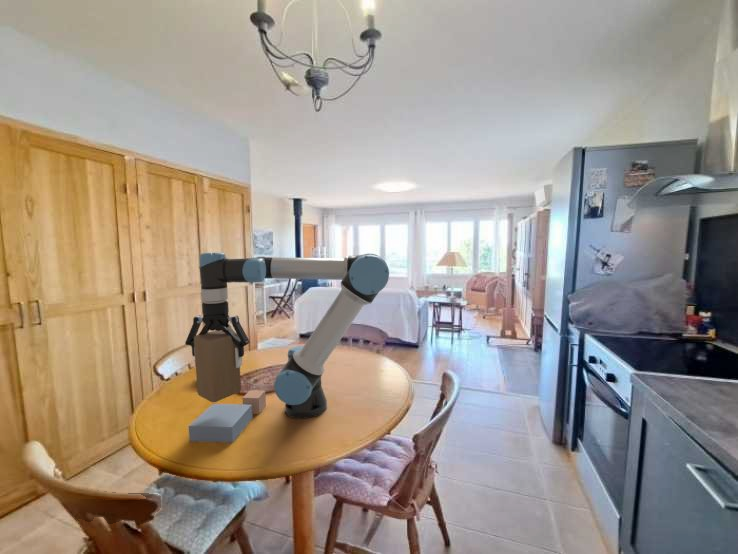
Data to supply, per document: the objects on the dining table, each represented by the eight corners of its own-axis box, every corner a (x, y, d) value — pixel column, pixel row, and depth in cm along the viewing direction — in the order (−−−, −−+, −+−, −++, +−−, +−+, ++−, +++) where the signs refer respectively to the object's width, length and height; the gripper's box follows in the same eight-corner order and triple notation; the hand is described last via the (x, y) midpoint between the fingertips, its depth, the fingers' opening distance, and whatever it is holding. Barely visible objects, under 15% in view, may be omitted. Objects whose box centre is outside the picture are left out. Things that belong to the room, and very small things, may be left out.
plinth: (252, 418, 113) (251, 404, 113) (232, 442, 99) (232, 427, 99) (214, 417, 114) (213, 403, 114) (189, 441, 100) (188, 425, 100)
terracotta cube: (266, 405, 122) (265, 390, 121) (259, 414, 116) (258, 398, 115) (250, 405, 122) (249, 390, 122) (243, 413, 117) (242, 397, 116)
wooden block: (225, 384, 112) (222, 328, 110) (242, 392, 106) (239, 332, 104) (196, 395, 104) (192, 335, 102) (212, 404, 98) (208, 340, 96)
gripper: (258, 299, 105) (260, 362, 107) (185, 299, 107) (189, 361, 109) (247, 303, 98) (251, 371, 100) (169, 303, 100) (174, 369, 102)
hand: (218, 366), depth 104 cm, fingers closed on wooden block, 13 cm apart
